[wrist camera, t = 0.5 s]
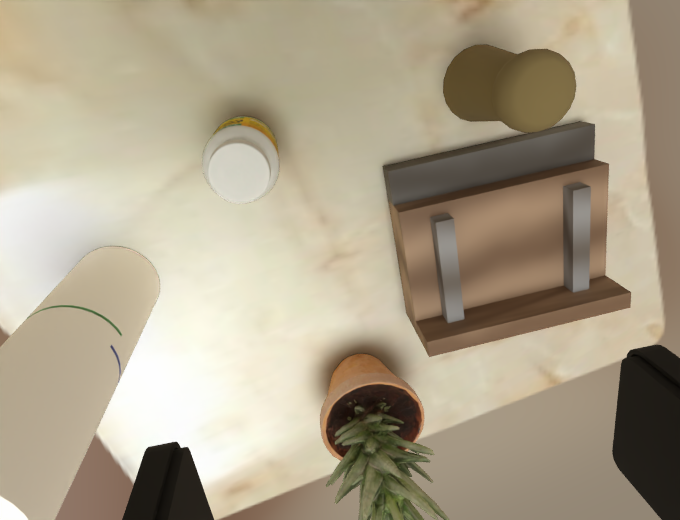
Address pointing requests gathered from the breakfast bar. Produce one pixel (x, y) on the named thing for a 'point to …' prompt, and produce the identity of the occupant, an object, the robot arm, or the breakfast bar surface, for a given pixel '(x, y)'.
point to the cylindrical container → (67, 376)
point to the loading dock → (503, 237)
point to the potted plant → (376, 439)
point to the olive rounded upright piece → (510, 87)
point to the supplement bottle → (241, 160)
